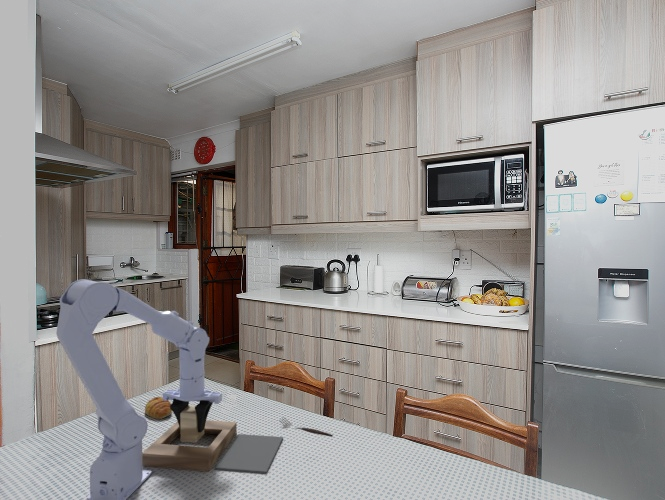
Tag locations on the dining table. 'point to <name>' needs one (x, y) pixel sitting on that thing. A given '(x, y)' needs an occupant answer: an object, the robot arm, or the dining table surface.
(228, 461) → the mat
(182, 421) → the block
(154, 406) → the pastry
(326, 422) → the dining table surface
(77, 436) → the dining table surface
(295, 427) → the fork
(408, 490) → the dining table surface
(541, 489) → the dining table surface
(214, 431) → the wooden square frame
